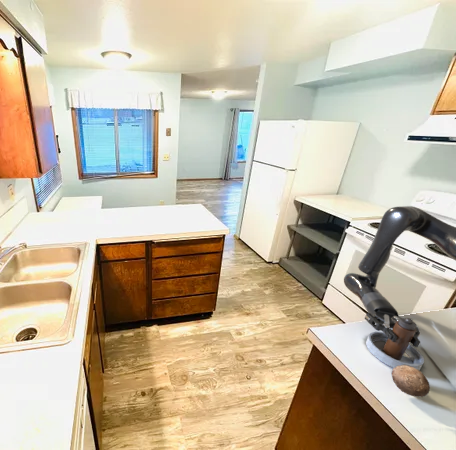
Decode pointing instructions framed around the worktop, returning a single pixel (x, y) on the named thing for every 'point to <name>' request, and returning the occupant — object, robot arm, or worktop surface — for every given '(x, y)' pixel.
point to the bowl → (414, 360)
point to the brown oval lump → (410, 381)
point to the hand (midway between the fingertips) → (406, 342)
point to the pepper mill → (400, 338)
